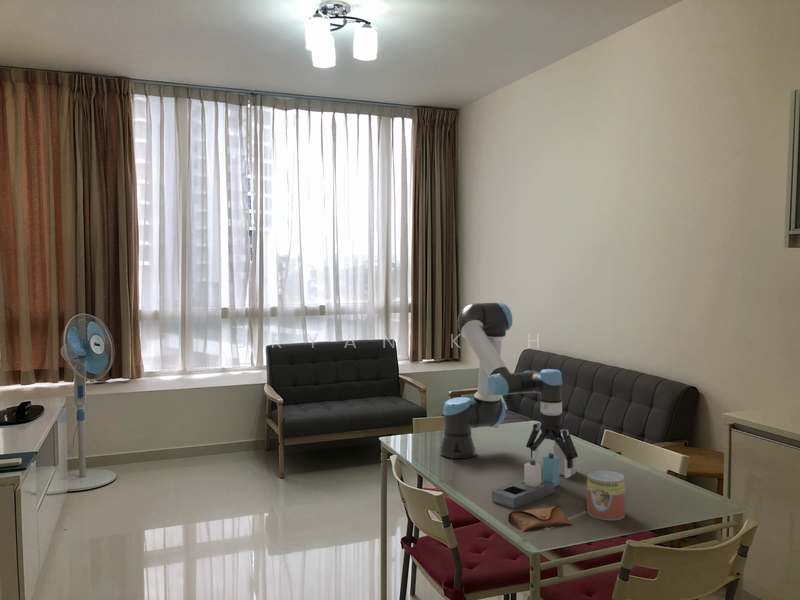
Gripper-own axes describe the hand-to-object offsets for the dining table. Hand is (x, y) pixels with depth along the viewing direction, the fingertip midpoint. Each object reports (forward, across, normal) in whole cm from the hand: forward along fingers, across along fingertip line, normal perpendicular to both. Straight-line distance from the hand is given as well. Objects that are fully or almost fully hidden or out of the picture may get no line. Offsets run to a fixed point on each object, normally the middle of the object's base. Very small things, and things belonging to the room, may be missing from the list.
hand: (551, 472), depth 212 cm
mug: (+5, -7, +17) cm, 19 cm away
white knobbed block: (+4, +1, -12) cm, 13 cm away
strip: (+5, +1, -17) cm, 18 cm away
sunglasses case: (+6, +17, -30) cm, 35 cm away
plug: (+5, 0, 0) cm, 5 cm away
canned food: (+5, +26, -8) cm, 28 cm away
